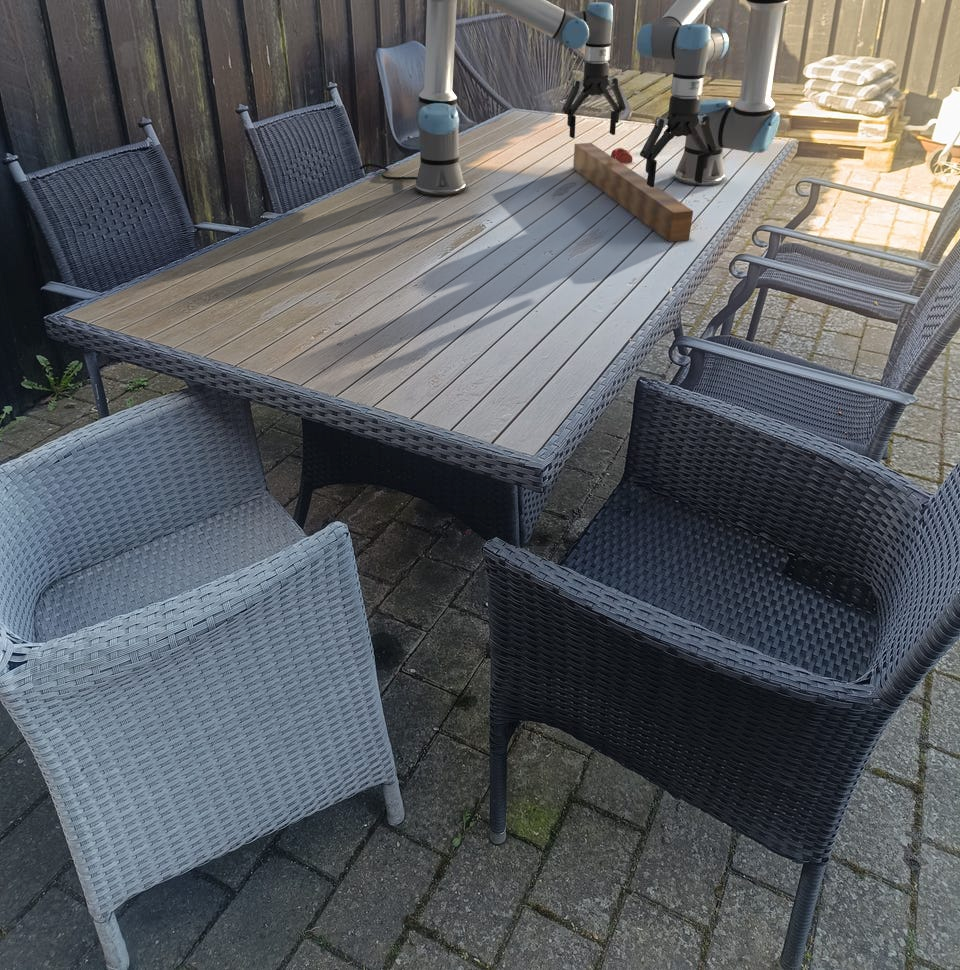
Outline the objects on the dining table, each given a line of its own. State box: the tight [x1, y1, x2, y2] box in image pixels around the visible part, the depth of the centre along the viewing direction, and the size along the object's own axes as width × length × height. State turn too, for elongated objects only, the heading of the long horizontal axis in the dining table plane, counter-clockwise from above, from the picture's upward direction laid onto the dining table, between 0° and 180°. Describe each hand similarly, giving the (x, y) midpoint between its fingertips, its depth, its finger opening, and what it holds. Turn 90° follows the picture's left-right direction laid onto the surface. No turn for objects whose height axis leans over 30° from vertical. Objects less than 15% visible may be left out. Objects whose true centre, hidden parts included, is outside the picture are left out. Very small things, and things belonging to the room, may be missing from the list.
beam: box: [572, 142, 694, 243], centre depth 248 cm, size 73×6×8 cm, turn 15°
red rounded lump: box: [610, 147, 633, 164], centre depth 283 cm, size 6×4×8 cm
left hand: (592, 135), depth 266 cm, fingers open, 13 cm apart
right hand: (674, 183), depth 219 cm, fingers open, 13 cm apart
